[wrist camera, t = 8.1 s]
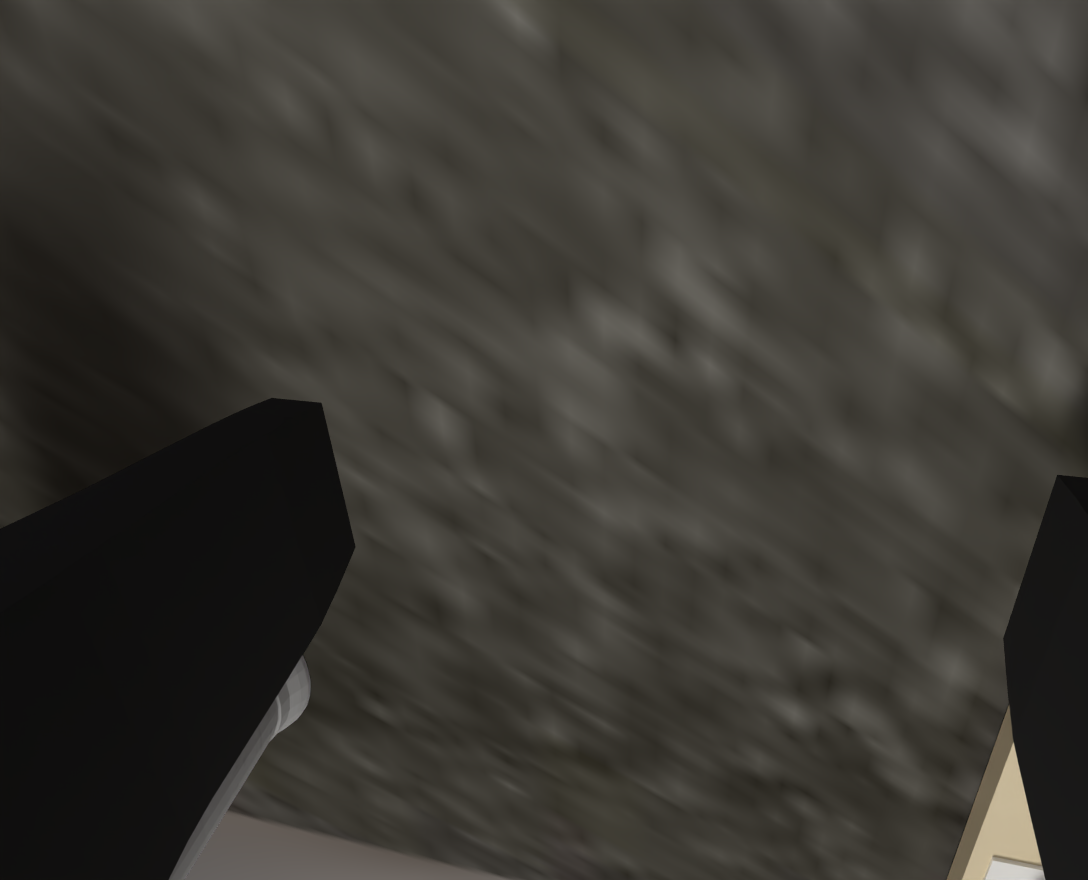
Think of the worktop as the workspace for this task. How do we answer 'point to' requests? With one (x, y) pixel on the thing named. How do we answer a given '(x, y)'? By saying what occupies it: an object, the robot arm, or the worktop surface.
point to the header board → (999, 823)
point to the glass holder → (247, 763)
